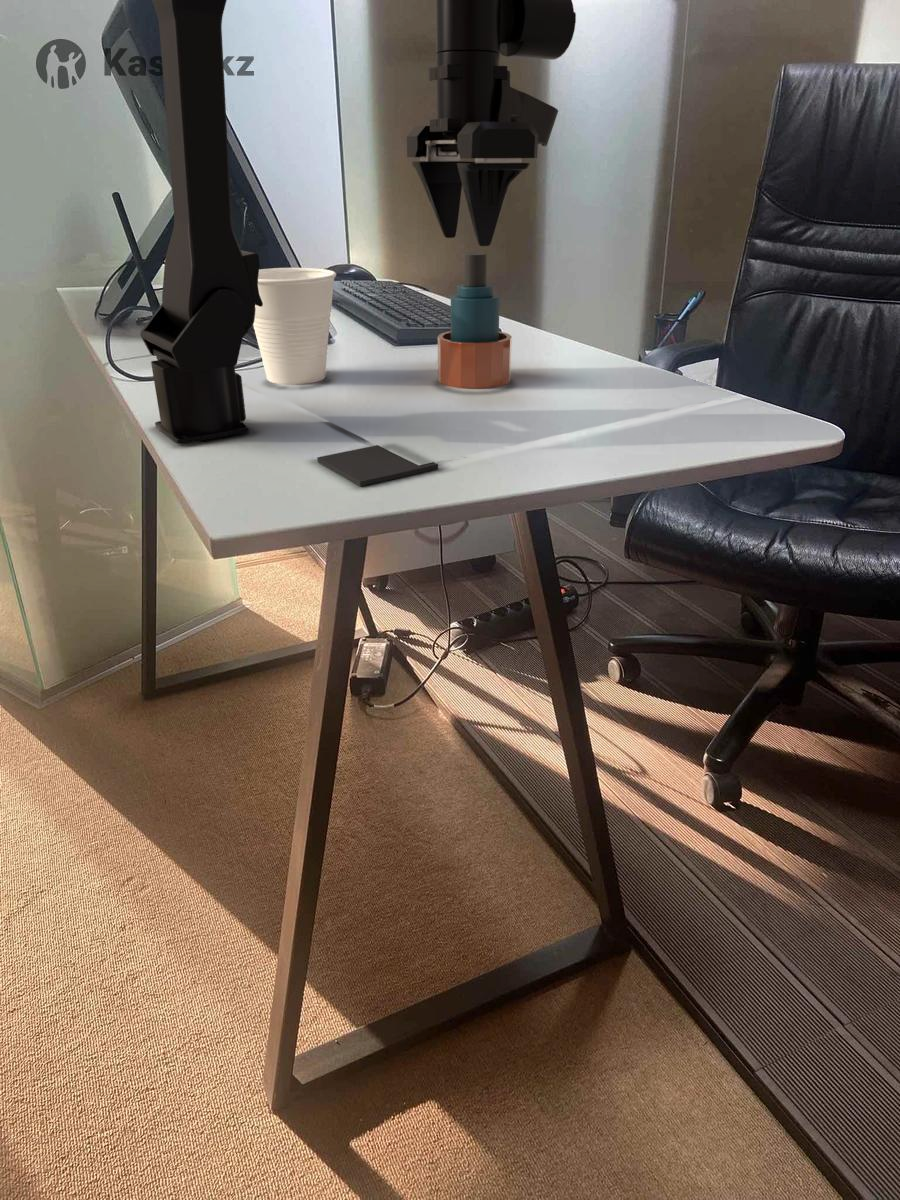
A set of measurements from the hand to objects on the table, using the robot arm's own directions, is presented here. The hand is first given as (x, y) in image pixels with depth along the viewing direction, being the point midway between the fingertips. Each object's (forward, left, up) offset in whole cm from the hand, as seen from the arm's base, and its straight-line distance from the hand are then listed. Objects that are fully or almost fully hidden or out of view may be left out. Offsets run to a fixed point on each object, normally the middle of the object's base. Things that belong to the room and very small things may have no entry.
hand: (466, 241), depth 84 cm
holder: (+1, 0, -14) cm, 14 cm away
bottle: (+1, 0, -14) cm, 14 cm away
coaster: (-21, -17, -14) cm, 30 cm away
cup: (-14, +12, -14) cm, 23 cm away
